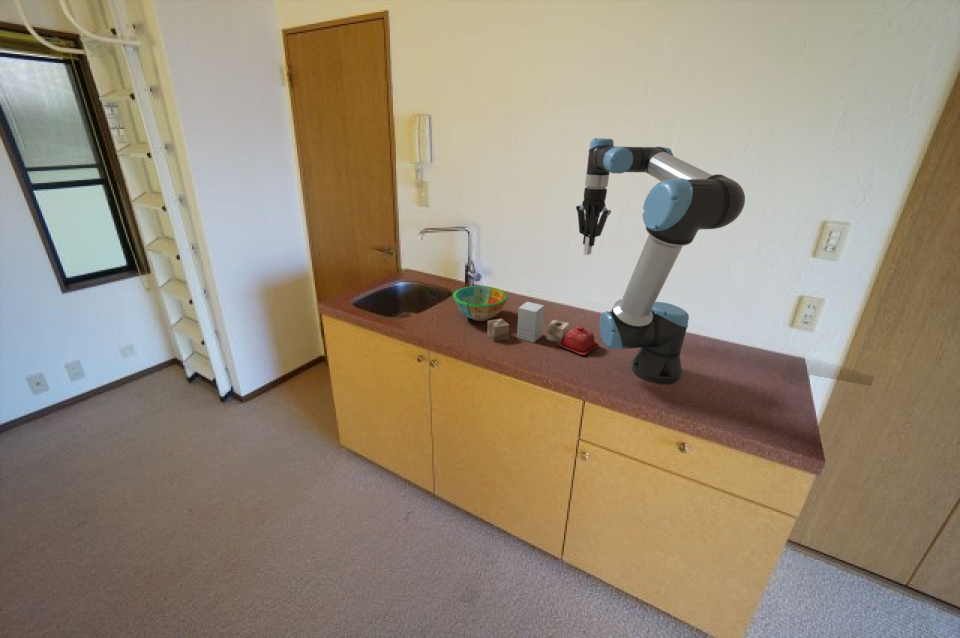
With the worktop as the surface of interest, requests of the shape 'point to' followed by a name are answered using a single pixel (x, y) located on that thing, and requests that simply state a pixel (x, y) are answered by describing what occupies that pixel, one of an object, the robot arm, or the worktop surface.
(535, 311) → the supplement box
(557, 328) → the beech block marked
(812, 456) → the worktop surface
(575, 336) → the butter dish
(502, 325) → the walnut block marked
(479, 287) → the bowl
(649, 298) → the robot arm
